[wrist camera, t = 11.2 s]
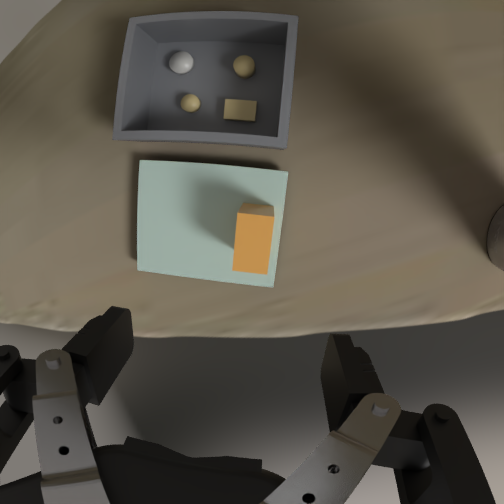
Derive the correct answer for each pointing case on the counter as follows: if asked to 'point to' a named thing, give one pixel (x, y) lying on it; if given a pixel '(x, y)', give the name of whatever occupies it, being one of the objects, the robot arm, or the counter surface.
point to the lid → (210, 221)
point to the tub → (207, 78)
